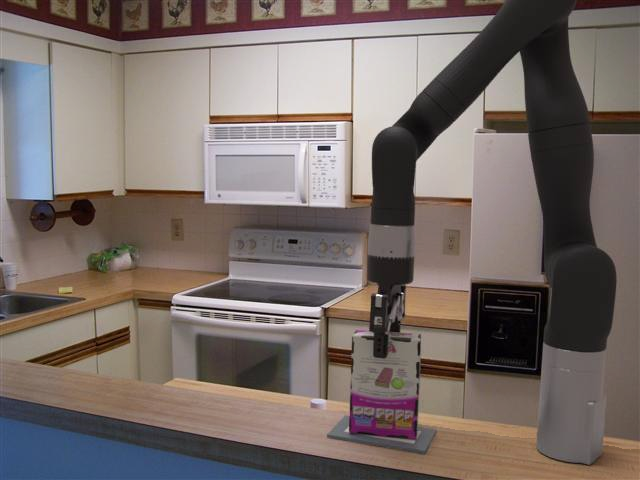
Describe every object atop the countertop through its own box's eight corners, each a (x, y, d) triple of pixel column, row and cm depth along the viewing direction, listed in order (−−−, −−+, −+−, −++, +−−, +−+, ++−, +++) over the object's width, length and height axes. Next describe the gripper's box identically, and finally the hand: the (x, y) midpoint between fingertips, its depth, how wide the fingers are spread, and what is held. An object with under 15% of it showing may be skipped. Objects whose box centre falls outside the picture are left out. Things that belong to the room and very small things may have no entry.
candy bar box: (417, 429, 113) (422, 333, 112) (416, 440, 108) (422, 339, 107) (351, 423, 115) (355, 327, 114) (347, 433, 110) (351, 334, 109)
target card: (436, 432, 114) (436, 428, 114) (425, 454, 105) (425, 450, 104) (345, 417, 119) (345, 414, 119) (326, 437, 110) (327, 433, 110)
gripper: (404, 258, 101) (399, 365, 103) (422, 250, 115) (418, 344, 116) (356, 255, 104) (352, 359, 105) (379, 247, 117) (375, 340, 119)
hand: (386, 351), depth 111 cm, fingers open, 8 cm apart
